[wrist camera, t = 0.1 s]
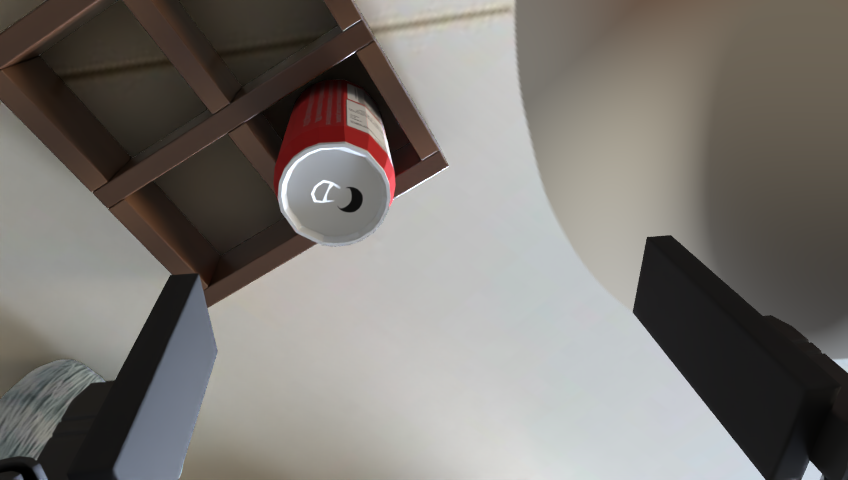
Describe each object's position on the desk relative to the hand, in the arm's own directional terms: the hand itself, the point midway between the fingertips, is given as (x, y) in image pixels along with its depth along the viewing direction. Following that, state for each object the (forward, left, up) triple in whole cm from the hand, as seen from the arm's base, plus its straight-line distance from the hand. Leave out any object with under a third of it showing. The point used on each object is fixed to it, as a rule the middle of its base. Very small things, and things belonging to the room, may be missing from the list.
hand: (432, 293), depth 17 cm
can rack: (-5, -7, -21) cm, 22 cm away
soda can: (-1, -3, -21) cm, 21 cm away
